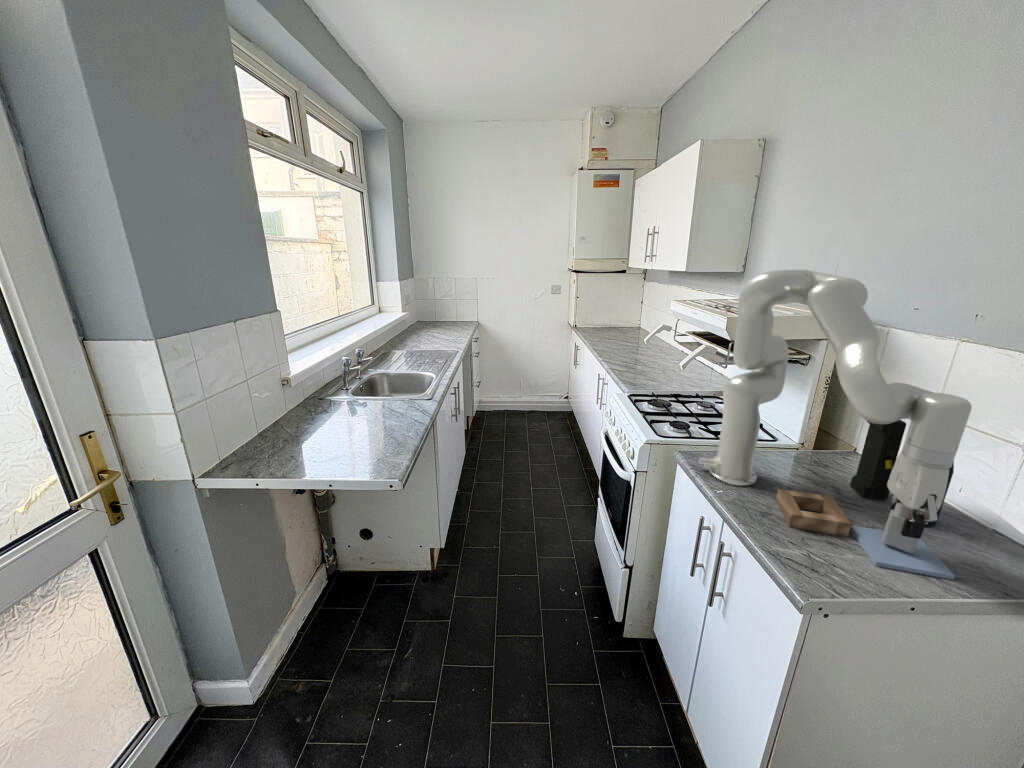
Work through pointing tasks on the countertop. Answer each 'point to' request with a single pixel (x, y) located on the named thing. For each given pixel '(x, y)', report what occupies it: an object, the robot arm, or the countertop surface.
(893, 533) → the power adapter
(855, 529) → the blue square plate
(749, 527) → the countertop surface
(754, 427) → the robot arm
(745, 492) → the countertop surface
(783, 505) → the walnut collar
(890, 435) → the portable radio
